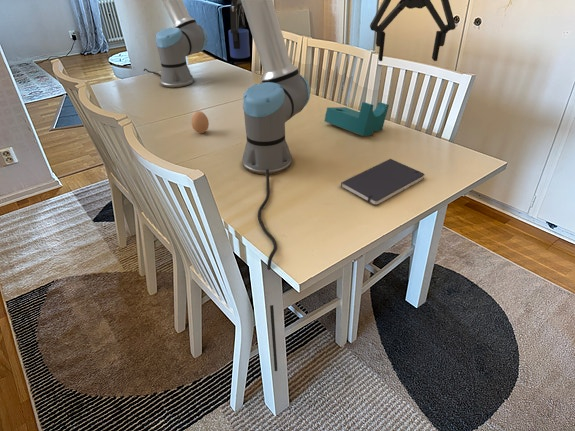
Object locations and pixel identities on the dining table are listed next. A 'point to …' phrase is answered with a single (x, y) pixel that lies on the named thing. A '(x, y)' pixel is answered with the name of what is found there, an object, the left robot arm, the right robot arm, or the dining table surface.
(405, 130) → the dining table surface
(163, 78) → the left robot arm
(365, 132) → the teal l-shaped bracket
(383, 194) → the notebook
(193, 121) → the egg
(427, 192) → the dining table surface
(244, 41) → the canister
